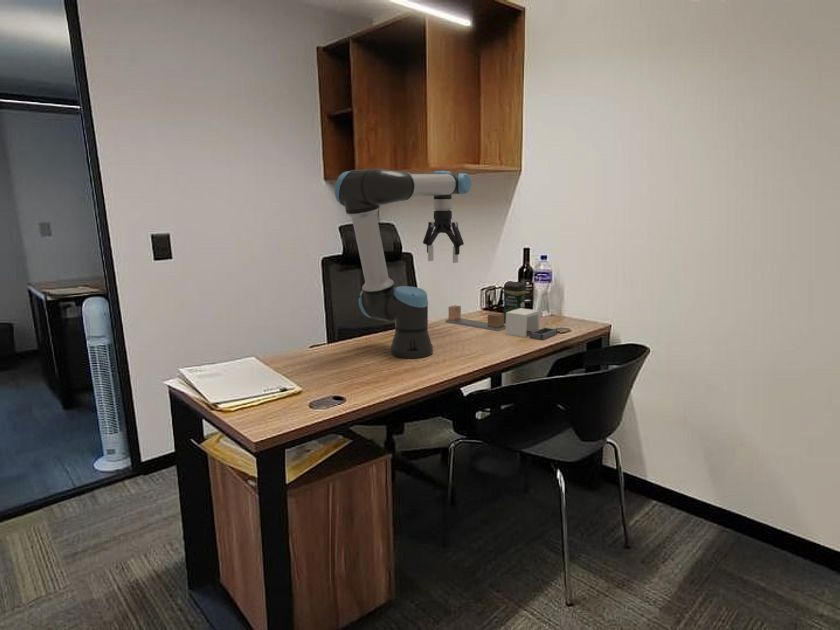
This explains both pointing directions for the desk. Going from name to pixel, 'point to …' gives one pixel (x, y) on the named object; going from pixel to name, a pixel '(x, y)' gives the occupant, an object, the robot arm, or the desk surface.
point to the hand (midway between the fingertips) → (442, 261)
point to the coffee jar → (514, 296)
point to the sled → (493, 321)
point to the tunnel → (522, 321)
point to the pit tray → (543, 333)
